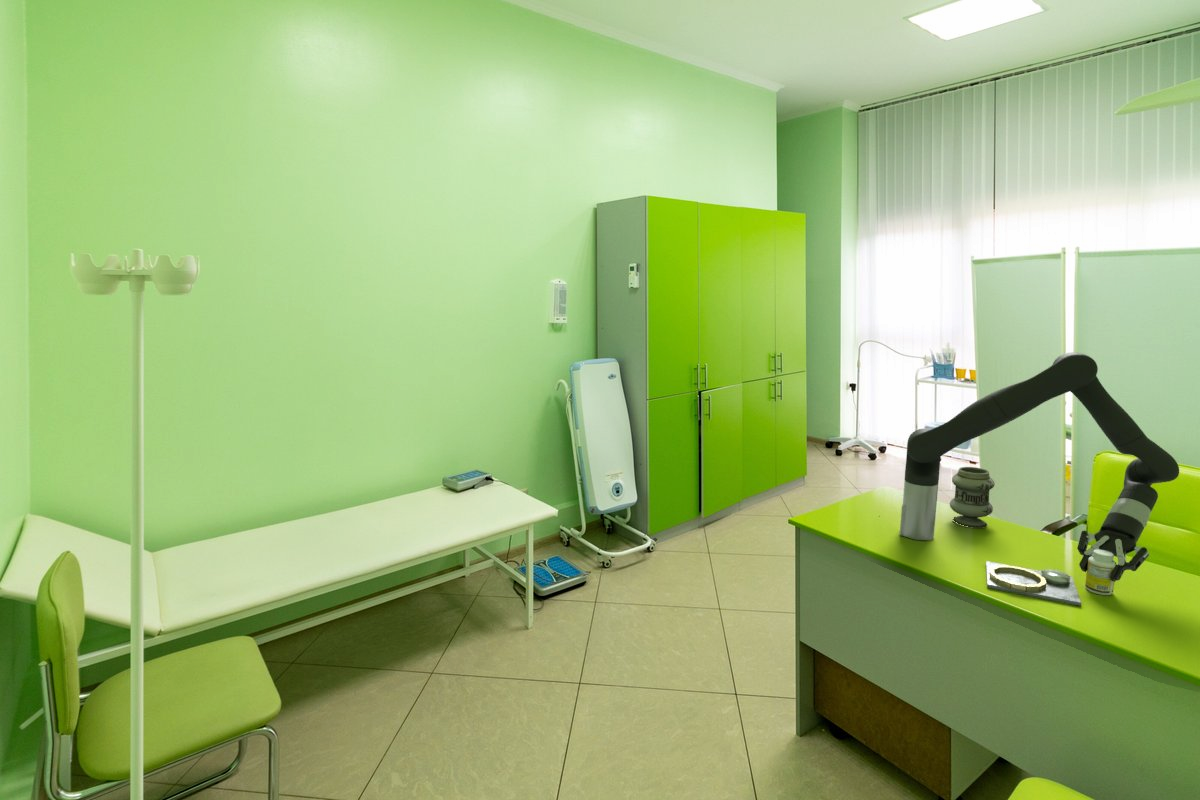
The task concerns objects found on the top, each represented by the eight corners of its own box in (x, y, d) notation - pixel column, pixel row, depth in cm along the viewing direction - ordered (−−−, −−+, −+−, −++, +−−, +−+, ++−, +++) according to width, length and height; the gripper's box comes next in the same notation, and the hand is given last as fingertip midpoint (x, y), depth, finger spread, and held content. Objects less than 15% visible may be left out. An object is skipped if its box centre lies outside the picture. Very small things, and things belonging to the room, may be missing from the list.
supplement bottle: (1097, 584, 158) (1102, 547, 156) (1118, 594, 152) (1124, 556, 151) (1078, 586, 157) (1083, 548, 155) (1100, 597, 151) (1105, 557, 150)
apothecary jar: (948, 514, 209) (953, 462, 206) (990, 520, 203) (995, 467, 200) (947, 525, 199) (952, 471, 196) (991, 532, 193) (997, 477, 190)
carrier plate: (987, 587, 156) (988, 578, 156) (985, 564, 170) (986, 555, 170) (1080, 606, 147) (1082, 596, 146) (1071, 580, 160) (1072, 571, 160)
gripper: (1089, 504, 161) (1060, 556, 157) (1158, 521, 149) (1129, 578, 145) (1096, 519, 164) (1068, 571, 161) (1165, 537, 152) (1136, 594, 148)
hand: (1097, 574), depth 153 cm, fingers closed on supplement bottle, 5 cm apart
